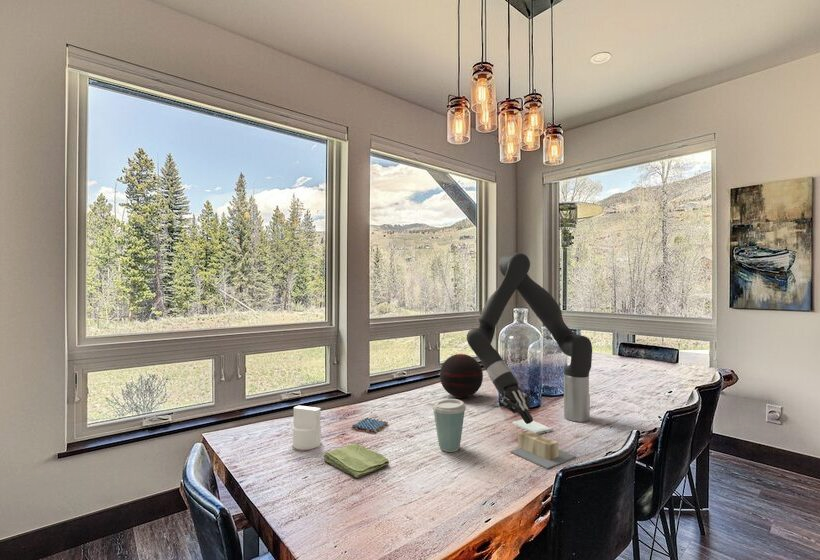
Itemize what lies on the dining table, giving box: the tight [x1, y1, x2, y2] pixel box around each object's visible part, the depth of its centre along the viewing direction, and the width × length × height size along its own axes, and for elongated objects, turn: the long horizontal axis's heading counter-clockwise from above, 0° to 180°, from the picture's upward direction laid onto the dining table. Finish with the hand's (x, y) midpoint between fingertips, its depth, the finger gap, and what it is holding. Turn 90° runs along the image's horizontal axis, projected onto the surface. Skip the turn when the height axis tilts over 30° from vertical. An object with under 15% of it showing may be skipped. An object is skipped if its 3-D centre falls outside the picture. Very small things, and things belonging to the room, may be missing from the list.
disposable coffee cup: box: [432, 398, 466, 453], centre depth 135 cm, size 11×11×15 cm
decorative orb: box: [439, 353, 484, 399], centre depth 194 cm, size 20×20×20 cm
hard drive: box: [511, 418, 553, 435], centre depth 154 cm, size 2×8×12 cm
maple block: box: [517, 430, 560, 460], centre depth 131 cm, size 4×4×12 cm
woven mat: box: [351, 417, 389, 435], centre depth 153 cm, size 10×11×2 cm
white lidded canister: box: [292, 405, 322, 451], centre depth 137 cm, size 9×9×12 cm
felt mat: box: [510, 447, 577, 470], centre depth 130 cm, size 14×14×1 cm
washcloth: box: [323, 443, 390, 479], centre depth 123 cm, size 13×18×3 cm
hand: (530, 422), depth 134 cm, fingers closed
